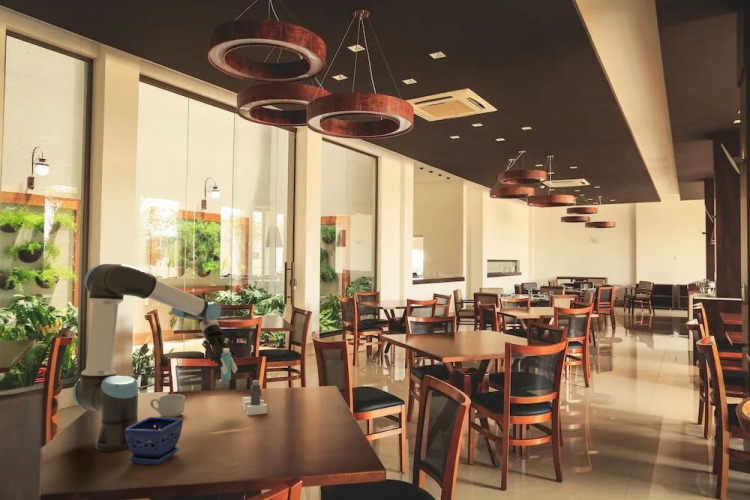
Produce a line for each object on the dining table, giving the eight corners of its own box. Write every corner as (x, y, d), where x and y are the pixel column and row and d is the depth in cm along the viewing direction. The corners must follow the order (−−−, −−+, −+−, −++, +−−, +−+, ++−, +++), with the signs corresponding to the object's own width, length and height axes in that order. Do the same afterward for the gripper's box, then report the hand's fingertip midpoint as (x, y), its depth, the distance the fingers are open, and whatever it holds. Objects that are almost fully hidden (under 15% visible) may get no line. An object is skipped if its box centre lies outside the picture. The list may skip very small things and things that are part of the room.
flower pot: (160, 468, 164) (160, 430, 164) (123, 465, 166) (123, 428, 166) (183, 453, 177) (184, 418, 177) (149, 450, 179) (149, 416, 179)
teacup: (189, 412, 225) (189, 394, 225) (177, 420, 214) (177, 400, 214) (158, 412, 226) (158, 393, 227) (145, 419, 216) (145, 400, 216)
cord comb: (266, 415, 220) (266, 404, 220) (247, 417, 217) (247, 406, 217) (260, 405, 235) (260, 395, 235) (242, 407, 232) (242, 397, 232)
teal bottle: (231, 379, 222) (231, 349, 222) (221, 380, 220) (221, 349, 221) (230, 377, 225) (230, 347, 226) (220, 378, 224) (220, 348, 224)
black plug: (261, 412, 222) (261, 381, 222) (251, 413, 220) (251, 382, 220) (259, 409, 225) (259, 379, 226) (250, 410, 224) (250, 380, 224)
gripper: (225, 333, 240) (244, 374, 228) (190, 336, 228) (209, 380, 216) (231, 322, 237) (251, 363, 225) (196, 325, 224) (215, 369, 212)
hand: (230, 371), depth 220 cm, fingers closed on teal bottle, 4 cm apart
